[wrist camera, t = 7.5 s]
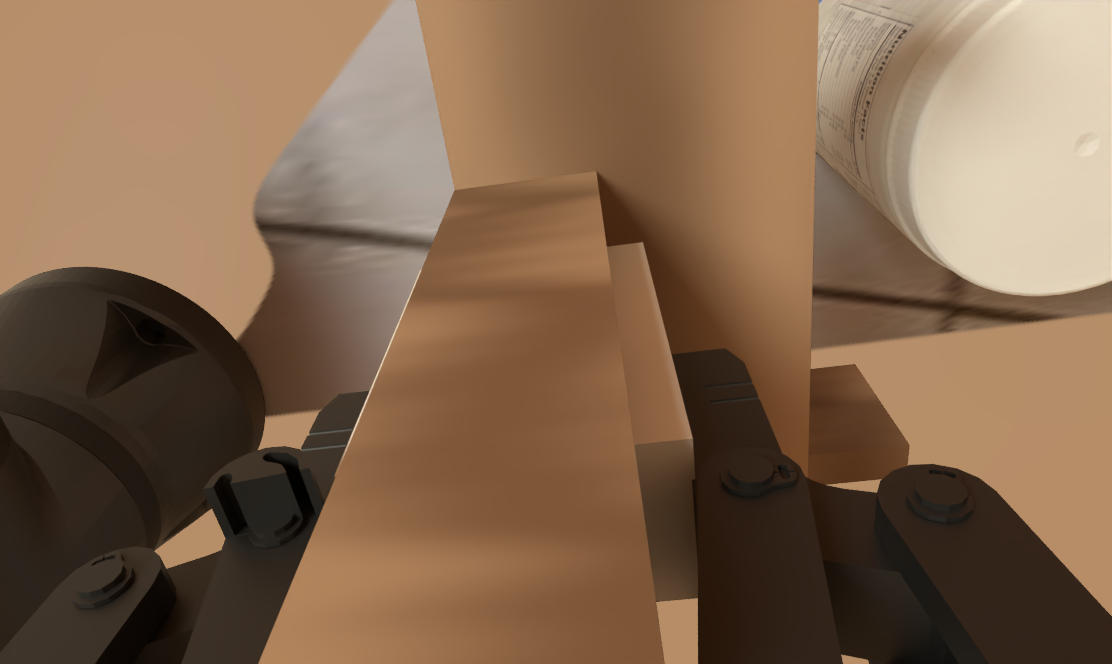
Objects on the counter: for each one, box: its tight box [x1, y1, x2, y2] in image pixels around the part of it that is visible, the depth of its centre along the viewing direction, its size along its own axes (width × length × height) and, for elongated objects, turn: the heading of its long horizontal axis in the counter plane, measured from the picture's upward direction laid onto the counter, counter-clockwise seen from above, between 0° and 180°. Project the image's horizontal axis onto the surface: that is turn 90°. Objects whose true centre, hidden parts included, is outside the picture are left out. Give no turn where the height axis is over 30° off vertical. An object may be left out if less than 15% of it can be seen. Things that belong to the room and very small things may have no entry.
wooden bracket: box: [258, 0, 909, 664], centre depth 13 cm, size 10×13×16 cm
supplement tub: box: [815, 0, 1112, 296], centre depth 27 cm, size 10×10×15 cm
